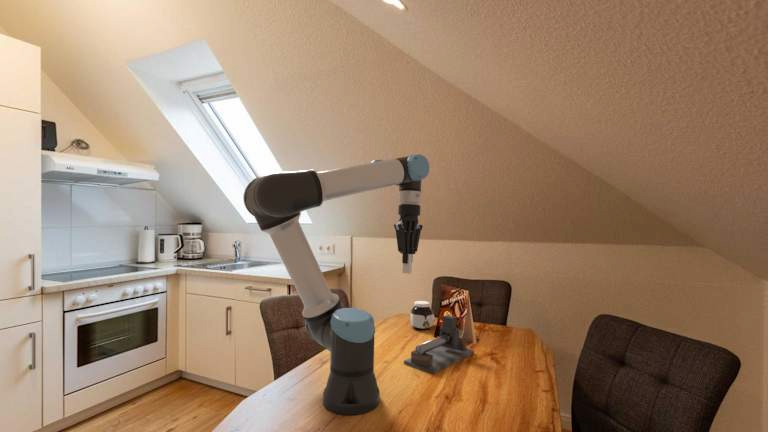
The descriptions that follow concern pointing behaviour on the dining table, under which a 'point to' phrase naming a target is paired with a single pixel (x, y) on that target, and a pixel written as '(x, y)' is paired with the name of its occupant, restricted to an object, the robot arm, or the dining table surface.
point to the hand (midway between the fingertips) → (406, 272)
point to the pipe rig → (438, 357)
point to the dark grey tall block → (450, 331)
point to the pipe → (435, 343)
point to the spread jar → (422, 316)
